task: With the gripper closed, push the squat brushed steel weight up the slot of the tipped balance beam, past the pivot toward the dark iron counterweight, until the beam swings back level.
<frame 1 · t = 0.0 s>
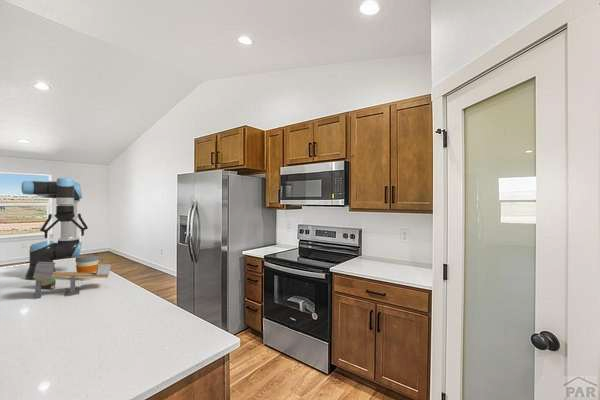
hand: (64, 242, 152), 28 cm above the counter, fingers open, 13 cm apart
balance stand: (72, 292, 152), on the counter
balance beam: (74, 270, 152), point 12 cm above the counter, hinge at -10.1°, touching steel weight
reusable coffee cup: (87, 278, 178), on the counter
steel weight: (102, 275, 160), point 7 cm above the counter, tilted 10°, touching balance beam
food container: (49, 288, 159), on the counter
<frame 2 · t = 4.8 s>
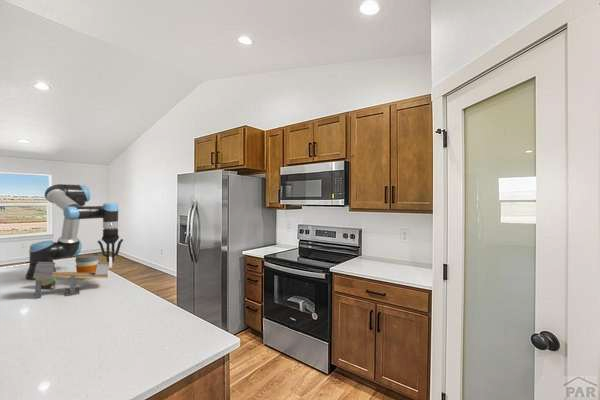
hand: (110, 267, 163), 12 cm above the counter, fingers closed
balance beam: (74, 270, 152), point 12 cm above the counter, hinge at -10.0°
steel weight: (100, 275, 160), point 8 cm above the counter, tilted 10°, touching gripper
everything else where it was.
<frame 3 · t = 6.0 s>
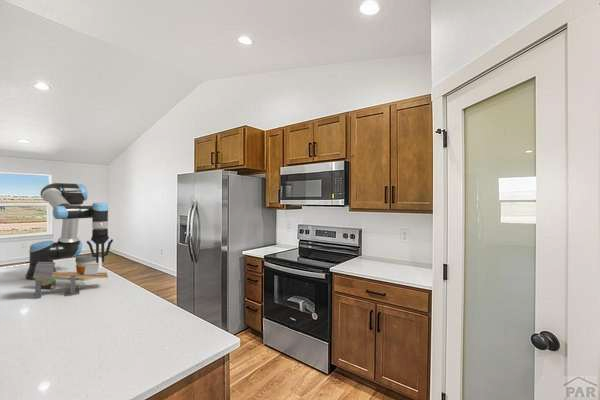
hand: (100, 267, 160), 12 cm above the counter, fingers closed
steel weight: (89, 274, 157), point 8 cm above the counter, tilted 10°, touching gripper
everything else where it was.
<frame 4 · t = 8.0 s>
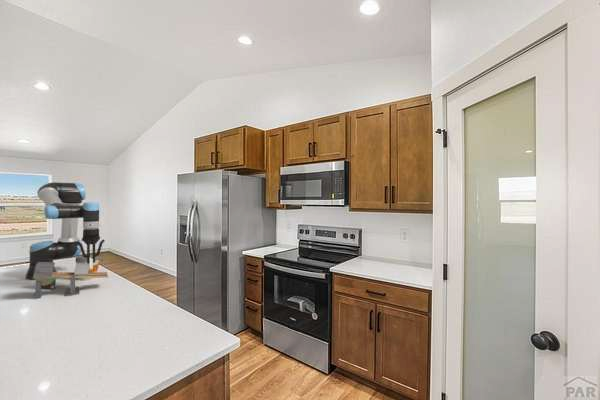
hand: (91, 268, 157), 12 cm above the counter, fingers closed
balance beam: (74, 270, 152), point 12 cm above the counter, hinge at -9.3°, touching steel weight
steel weight: (80, 274, 154), point 9 cm above the counter, tilted 9°, touching balance beam
everything else where it was.
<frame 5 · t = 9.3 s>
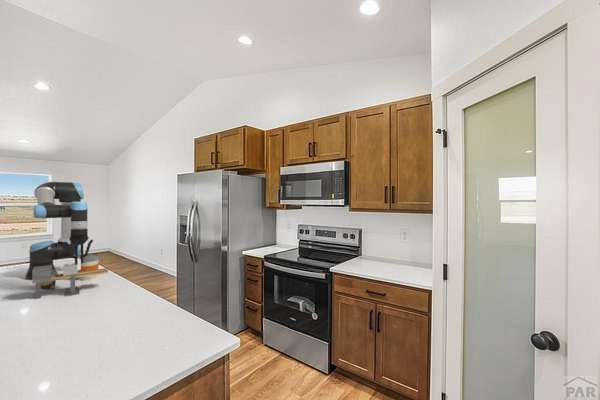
hand: (79, 269, 153), 12 cm above the counter, fingers closed
balance beam: (72, 271, 152), point 12 cm above the counter, hinge at 0.1°, touching steel weight
steel weight: (70, 275, 151), point 10 cm above the counter, touching balance beam, gripper
everything else where it was.
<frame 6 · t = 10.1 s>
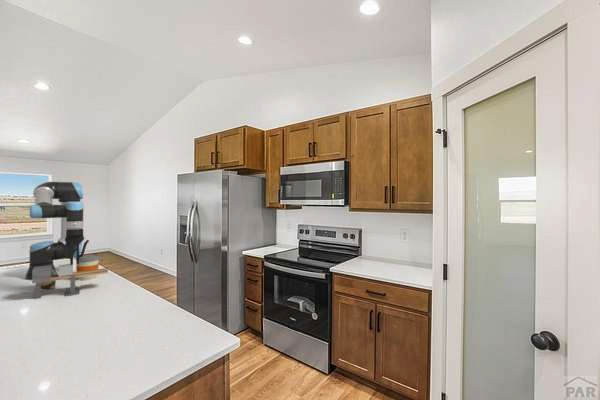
hand: (74, 270, 152), 12 cm above the counter, fingers closed
steel weight: (65, 275, 150), point 10 cm above the counter, touching balance beam, gripper
everything else where it was.
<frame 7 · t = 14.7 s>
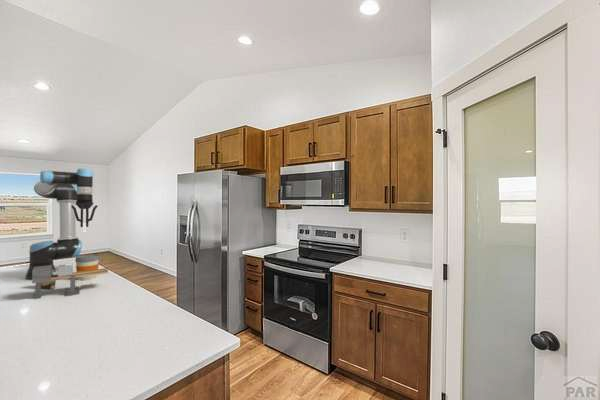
hand: (84, 232, 164), 32 cm above the counter, fingers closed
steel weight: (65, 275, 150), point 10 cm above the counter, touching balance beam
everything else where it was.
at the end: balance beam at +0° (first picture: -10°); steel weight inside the target area on the balance beam (0.4 cm from its centre), point 0.8 cm above the balance beam's base; steel weight tilted 0° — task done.
